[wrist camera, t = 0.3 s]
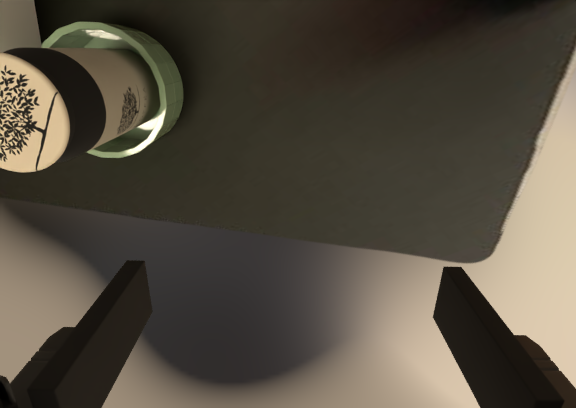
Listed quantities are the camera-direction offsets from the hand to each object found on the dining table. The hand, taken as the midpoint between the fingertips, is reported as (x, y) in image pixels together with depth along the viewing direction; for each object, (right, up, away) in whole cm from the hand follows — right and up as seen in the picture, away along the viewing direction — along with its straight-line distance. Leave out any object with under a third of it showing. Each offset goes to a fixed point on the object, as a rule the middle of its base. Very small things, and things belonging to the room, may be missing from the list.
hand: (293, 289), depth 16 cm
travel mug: (-18, +16, +23) cm, 34 cm away
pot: (-18, +16, +24) cm, 34 cm away
